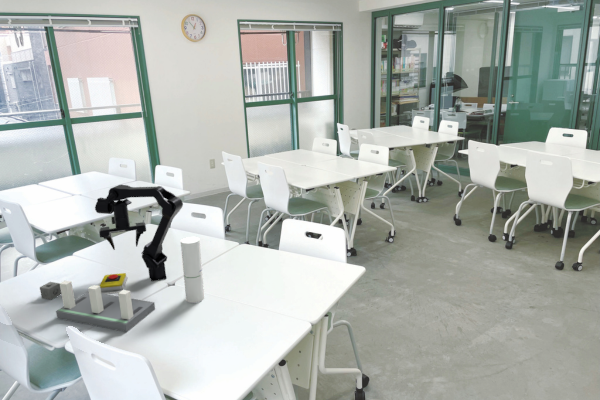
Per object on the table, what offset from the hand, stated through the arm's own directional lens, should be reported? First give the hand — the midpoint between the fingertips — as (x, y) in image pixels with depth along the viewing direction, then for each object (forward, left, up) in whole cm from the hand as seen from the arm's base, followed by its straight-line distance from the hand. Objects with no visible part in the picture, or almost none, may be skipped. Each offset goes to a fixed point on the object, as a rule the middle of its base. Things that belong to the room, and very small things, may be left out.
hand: (125, 247), depth 192 cm
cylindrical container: (-24, +34, -13) cm, 44 cm away
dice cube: (+30, +9, -13) cm, 34 cm away
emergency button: (+6, +9, -14) cm, 17 cm away
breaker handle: (+11, +36, -10) cm, 39 cm away
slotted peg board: (+9, +33, -13) cm, 36 cm away
